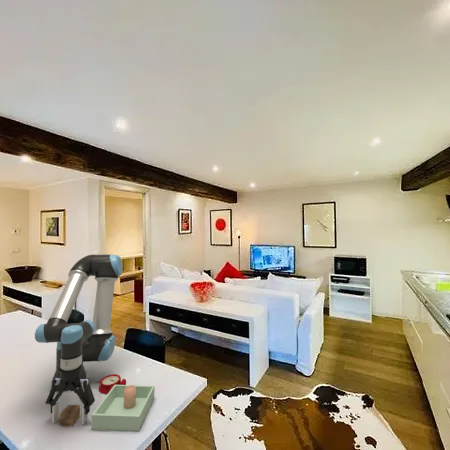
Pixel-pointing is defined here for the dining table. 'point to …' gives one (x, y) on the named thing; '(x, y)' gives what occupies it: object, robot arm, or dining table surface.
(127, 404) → the terracotta canister
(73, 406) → the walnut cube
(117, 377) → the alarm clock
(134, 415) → the tray
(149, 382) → the dining table surface
